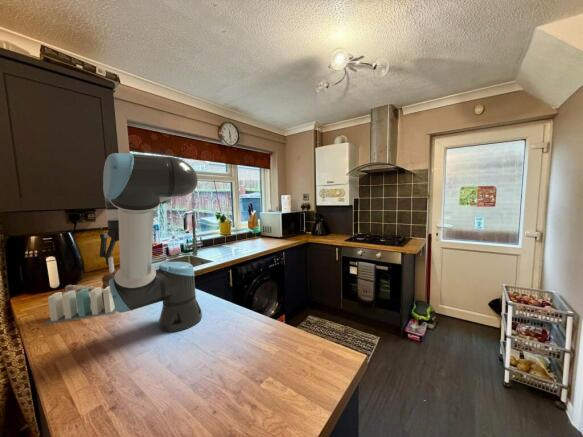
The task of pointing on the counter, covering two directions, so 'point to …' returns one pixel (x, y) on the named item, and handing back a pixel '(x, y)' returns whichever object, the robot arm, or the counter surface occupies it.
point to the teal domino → (83, 302)
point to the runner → (80, 317)
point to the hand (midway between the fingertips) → (123, 270)
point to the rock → (79, 289)
